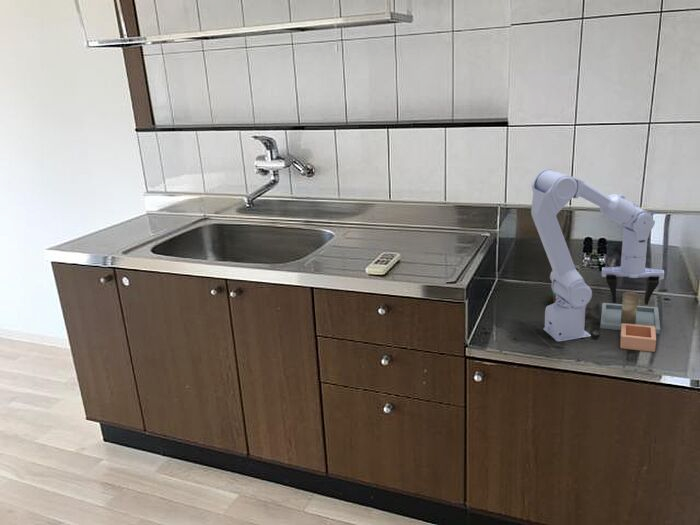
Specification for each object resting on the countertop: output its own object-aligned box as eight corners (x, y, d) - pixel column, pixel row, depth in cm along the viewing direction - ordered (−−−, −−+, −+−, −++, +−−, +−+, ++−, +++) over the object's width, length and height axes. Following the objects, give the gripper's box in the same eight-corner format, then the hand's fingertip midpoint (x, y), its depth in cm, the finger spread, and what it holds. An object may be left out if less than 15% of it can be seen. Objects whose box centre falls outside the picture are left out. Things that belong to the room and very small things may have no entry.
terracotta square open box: (620, 350, 146) (621, 336, 144) (620, 336, 152) (621, 323, 151) (654, 354, 142) (656, 340, 141) (653, 339, 149) (654, 326, 148)
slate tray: (600, 330, 156) (600, 323, 156) (602, 308, 168) (602, 302, 167) (659, 336, 150) (660, 329, 150) (657, 313, 162) (657, 307, 162)
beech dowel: (627, 325, 156) (629, 298, 153) (617, 320, 159) (619, 293, 156) (638, 323, 157) (641, 295, 154) (629, 317, 160) (631, 290, 157)
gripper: (603, 258, 151) (600, 306, 155) (667, 260, 146) (662, 310, 150) (602, 249, 157) (599, 296, 161) (664, 250, 152) (659, 299, 156)
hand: (629, 302), depth 156 cm, fingers open, 7 cm apart
